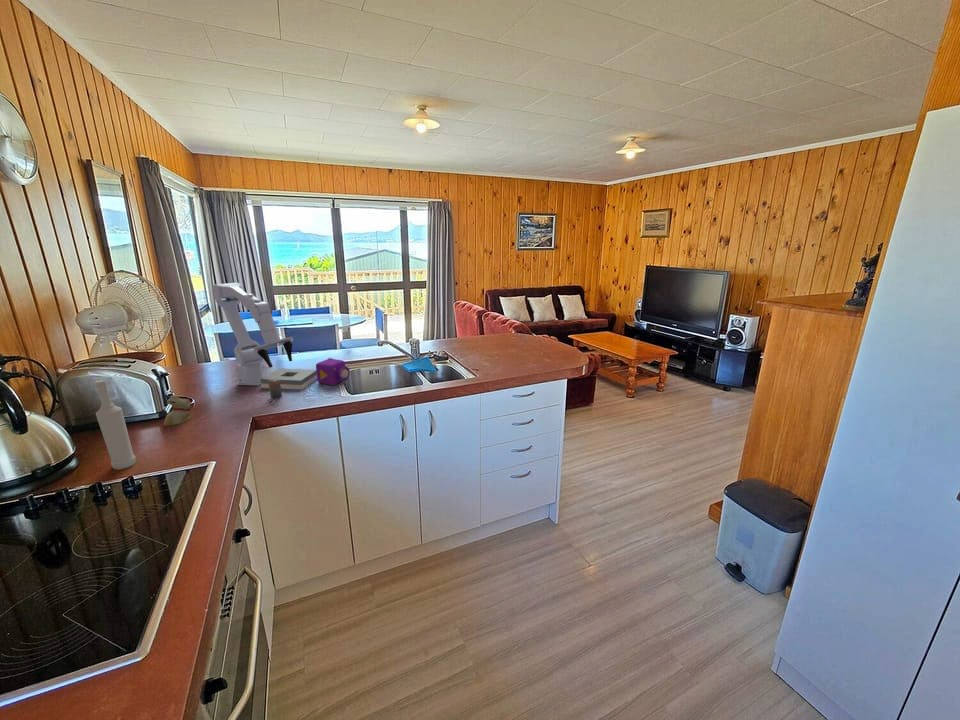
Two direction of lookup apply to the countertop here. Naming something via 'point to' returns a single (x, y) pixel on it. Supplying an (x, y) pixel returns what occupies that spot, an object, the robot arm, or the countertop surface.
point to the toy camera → (332, 371)
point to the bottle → (114, 430)
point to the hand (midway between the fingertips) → (281, 364)
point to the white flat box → (290, 378)
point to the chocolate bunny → (177, 411)
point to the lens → (275, 388)
